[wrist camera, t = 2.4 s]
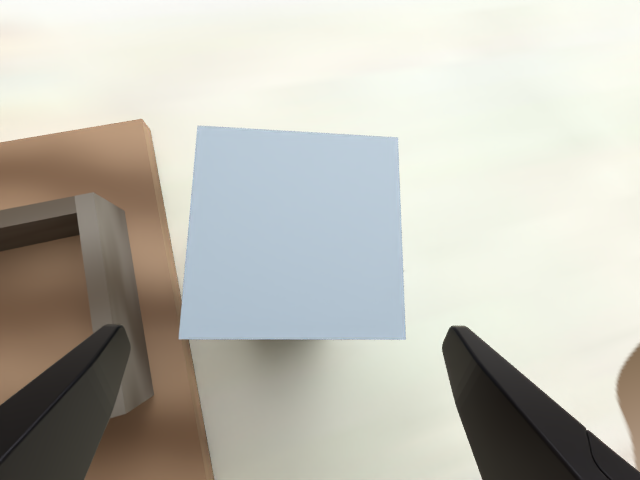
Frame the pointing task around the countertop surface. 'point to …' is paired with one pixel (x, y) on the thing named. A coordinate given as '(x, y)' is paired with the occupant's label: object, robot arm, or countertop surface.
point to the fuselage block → (293, 237)
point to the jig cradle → (99, 289)
